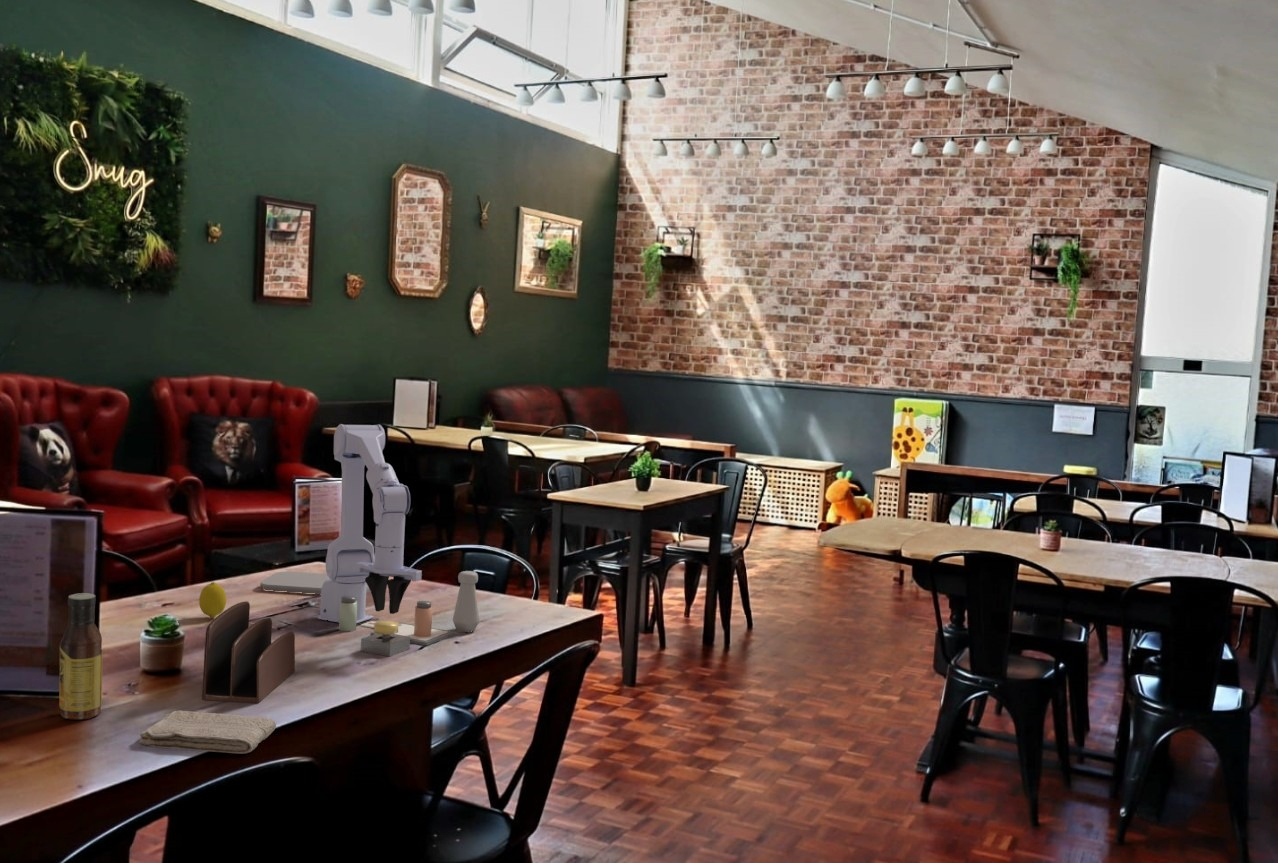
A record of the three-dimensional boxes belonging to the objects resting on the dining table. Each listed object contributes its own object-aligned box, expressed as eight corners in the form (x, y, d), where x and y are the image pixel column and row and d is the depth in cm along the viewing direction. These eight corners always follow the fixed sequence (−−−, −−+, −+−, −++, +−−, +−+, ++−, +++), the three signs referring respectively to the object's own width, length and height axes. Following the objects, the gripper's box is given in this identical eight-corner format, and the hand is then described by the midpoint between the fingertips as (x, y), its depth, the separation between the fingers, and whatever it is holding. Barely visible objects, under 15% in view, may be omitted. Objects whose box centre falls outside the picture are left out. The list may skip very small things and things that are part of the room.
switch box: (360, 651, 237) (361, 638, 237) (381, 643, 244) (381, 631, 243) (389, 656, 234) (390, 644, 234) (409, 648, 241) (410, 636, 241)
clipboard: (368, 635, 249) (369, 630, 249) (398, 624, 260) (398, 619, 259) (426, 645, 244) (426, 640, 244) (454, 634, 254) (455, 629, 254)
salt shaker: (473, 634, 255) (476, 575, 254) (448, 632, 256) (451, 573, 255) (482, 628, 260) (485, 570, 259) (458, 625, 262) (460, 568, 261)
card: (360, 625, 257) (360, 624, 257) (371, 622, 261) (371, 620, 260) (379, 629, 255) (379, 627, 255) (390, 625, 259) (390, 623, 259)
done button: (368, 642, 238) (369, 624, 237) (382, 637, 242) (383, 619, 242) (388, 646, 236) (389, 627, 235) (402, 640, 240) (403, 623, 240)
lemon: (193, 619, 255) (194, 582, 254) (211, 614, 260) (212, 578, 259) (213, 622, 253) (214, 586, 252) (231, 617, 258) (232, 581, 257)
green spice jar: (335, 629, 252) (336, 597, 252) (345, 626, 256) (346, 594, 255) (349, 632, 251) (350, 600, 250) (359, 628, 254) (360, 597, 254)
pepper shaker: (410, 635, 248) (412, 602, 248) (419, 631, 252) (420, 599, 251) (425, 637, 247) (427, 605, 247) (434, 634, 251) (435, 601, 250)
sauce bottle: (68, 708, 193) (70, 589, 192) (107, 709, 194) (110, 591, 192) (51, 721, 187) (53, 598, 185) (92, 722, 187) (95, 600, 186)
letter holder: (201, 701, 201) (203, 620, 200) (242, 669, 221) (245, 595, 220) (258, 705, 201) (261, 624, 200) (295, 672, 221) (298, 598, 220)
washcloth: (169, 724, 190) (169, 705, 190) (278, 731, 189) (279, 713, 189) (134, 749, 178) (135, 729, 178) (251, 757, 178) (252, 737, 177)
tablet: (362, 600, 283) (362, 590, 283) (256, 593, 284) (256, 583, 284) (380, 586, 299) (380, 577, 299) (279, 579, 300) (279, 570, 300)
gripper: (347, 543, 236) (345, 610, 237) (408, 552, 231) (405, 620, 232) (368, 539, 243) (366, 603, 244) (428, 547, 237) (425, 613, 238)
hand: (386, 611), depth 238 cm, fingers open, 3 cm apart
